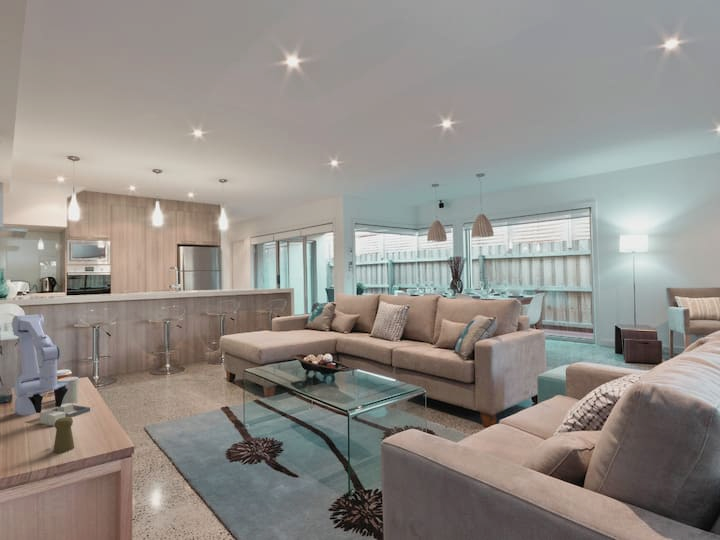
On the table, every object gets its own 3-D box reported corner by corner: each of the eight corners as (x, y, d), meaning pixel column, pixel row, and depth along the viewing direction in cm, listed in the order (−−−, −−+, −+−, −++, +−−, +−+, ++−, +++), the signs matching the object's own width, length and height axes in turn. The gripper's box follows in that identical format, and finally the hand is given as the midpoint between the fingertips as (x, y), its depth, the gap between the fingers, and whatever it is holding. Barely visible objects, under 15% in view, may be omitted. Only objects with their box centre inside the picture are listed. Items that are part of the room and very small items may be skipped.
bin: (47, 418, 171) (47, 411, 171) (69, 410, 179) (69, 404, 179) (68, 421, 166) (68, 414, 166) (90, 414, 175) (90, 407, 175)
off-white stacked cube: (39, 423, 161) (39, 413, 161) (50, 419, 165) (50, 410, 165) (46, 424, 160) (46, 414, 160) (57, 420, 164) (57, 411, 164)
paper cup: (50, 402, 191) (50, 373, 191) (54, 398, 197) (54, 370, 197) (70, 400, 194) (70, 371, 194) (73, 396, 201) (73, 368, 201)
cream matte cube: (57, 415, 172) (57, 406, 172) (66, 412, 176) (66, 403, 176) (64, 416, 171) (64, 406, 171) (73, 413, 175) (73, 403, 175)
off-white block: (48, 424, 159) (48, 414, 159) (58, 421, 163) (58, 411, 163) (55, 425, 158) (55, 415, 158) (65, 422, 162) (65, 412, 162)
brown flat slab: (23, 425, 162) (23, 422, 162) (42, 419, 169) (42, 416, 169) (51, 431, 157) (51, 427, 157) (69, 424, 163) (69, 421, 163)
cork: (60, 445, 143) (60, 415, 143) (78, 445, 144) (78, 414, 144) (48, 453, 137) (48, 421, 137) (67, 452, 138) (67, 421, 138)
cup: (67, 407, 184) (67, 381, 184) (52, 406, 185) (52, 380, 185) (82, 402, 192) (82, 377, 192) (68, 401, 193) (68, 376, 193)
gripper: (35, 381, 154) (35, 416, 154) (73, 372, 168) (73, 404, 168) (23, 380, 157) (23, 414, 156) (61, 371, 170) (61, 403, 170)
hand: (48, 409), depth 162 cm, fingers open, 7 cm apart
